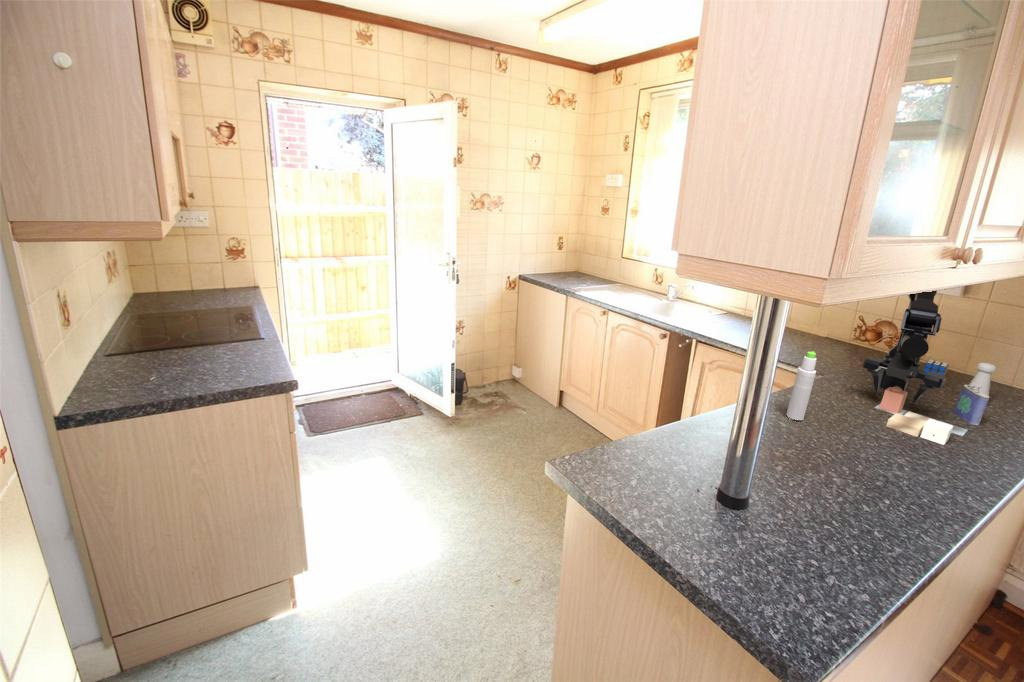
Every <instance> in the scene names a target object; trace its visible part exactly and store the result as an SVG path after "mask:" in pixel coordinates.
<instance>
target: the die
mask: <svg viewBox="0 0 1024 682" xmlns="http://www.w3.org/2000/svg"><path fill="white" fill-rule="evenodd" d="M932 419H933V418H932ZM932 419H929V420H928V421H927V422H926V423H925V425H924V428H923V430H922V433H921V434H920V435H919V437H920V438H922V439H925V440H927V441H931V442H933V443H937V444H940V445H942V446H945V445H946V443H947V442H948V441H949V439H950V436H951V435H952V433H951V431H952V428H953V426H952V425H953V424H951V425H949V424H950V423H948V424H945V423H946V422H945V423H942V422H943V421H941V422H939V421H940V420H937V419H935V420H932Z"/></svg>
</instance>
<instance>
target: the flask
mask: <svg viewBox="0 0 1024 682" xmlns="http://www.w3.org/2000/svg"><path fill="white" fill-rule="evenodd" d="M973 385H974V383H973V384H972V386H971V385H969V384H964V385H962V388H961V390H960V393H959V396H958V398H957V401H956V402H955V405H954V409H953V410H952V412H953V413H954V414H955V415H956V416H958V417H959V418H960V419H962V420H963V421H965V422H967V423H969V424H970V425H973V426H974V425H976V426H979V425H980V423H981V422H982V421H981V420H982V418H983V415H984V413H985V410H986V407H987V406H988V402H989V401H990V398H991V397H990V395H989V396H987V395H985V394H983V393H981V392H980V391H979V390H980V388H982V386H981V385H980V386H979V385H978V384H975V385H974V387H973Z"/></svg>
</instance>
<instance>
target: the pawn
mask: <svg viewBox="0 0 1024 682" xmlns="http://www.w3.org/2000/svg"><path fill="white" fill-rule="evenodd" d="M908 393H909V392H908V391H906V390H905V391H903V390H902V389H901V388H900V387H898V386H895V387H889V388H888V389H886V390H885V389H884V393H883V396H882V399H881V401H880V403H881V405H880V408H881V409H884V410H887V411H890V412H893V413H899V412H900V411H902V409H904V404H905V403H906V399H907V396H908Z"/></svg>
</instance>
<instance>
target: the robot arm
mask: <svg viewBox="0 0 1024 682" xmlns="http://www.w3.org/2000/svg"><path fill="white" fill-rule="evenodd" d="M937 292H938V291H932V292H922V293H916V294H910V295H908V294H907V297H908V299H909V304H908V306H907V308H905V310H904V313H903V317H902V321H901V325H900V334H899V338H898V340H897V343H896V344H895V345H894V346H893V347H891V348H890V349H889V350H888V353H887V354H884V357H883V359H882V358H878V357H875V356H870V357H868V358H866V359H864V361H863V364H862V368H863V369H867V370H866V371H867V372H869V373H870V374H871V376H872V378H873V379H872V380H873V384H874V393H876V394H877V393H878V392H879V390H880V388H881V389H883V390H884V391H885V390H886V389H888V388H889V387H895V386H898V387H900V388H901V389H902V390H903V391H906V390H907V387H908V384H909V380H908V379H910V380H912V379H918V380H922V383H920V384H919V387H918V389H917V391H916V393H915V394H914V396H913V400H912V402H911V404H913V405H914V404H916V402H917V401H918V400H919V399H920V398H921V397H922V396H923V394H924V393H925V392H926V391H928V390H929V389H930V390H934V389H935V388H936V389H940V388H942V387H943V386H944V385H945V383H946V380H947V377H946V374H945V375H942V374H938V373H934V372H928V373H927V374H924V373H923V372H921V371H920V370H921V365H920V362H921V360H922V359H921V358H922V357H923V356H925V355H926V354H927V353H928V351H929V349H930V346H929V343H928V337H929V336H934V337H935V336H936V334H937V333H939V332H940V328H941V322H942V317H941V313H939V305H938V304H936V303H935V301H934V300H935V296H936V295H937Z"/></svg>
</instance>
